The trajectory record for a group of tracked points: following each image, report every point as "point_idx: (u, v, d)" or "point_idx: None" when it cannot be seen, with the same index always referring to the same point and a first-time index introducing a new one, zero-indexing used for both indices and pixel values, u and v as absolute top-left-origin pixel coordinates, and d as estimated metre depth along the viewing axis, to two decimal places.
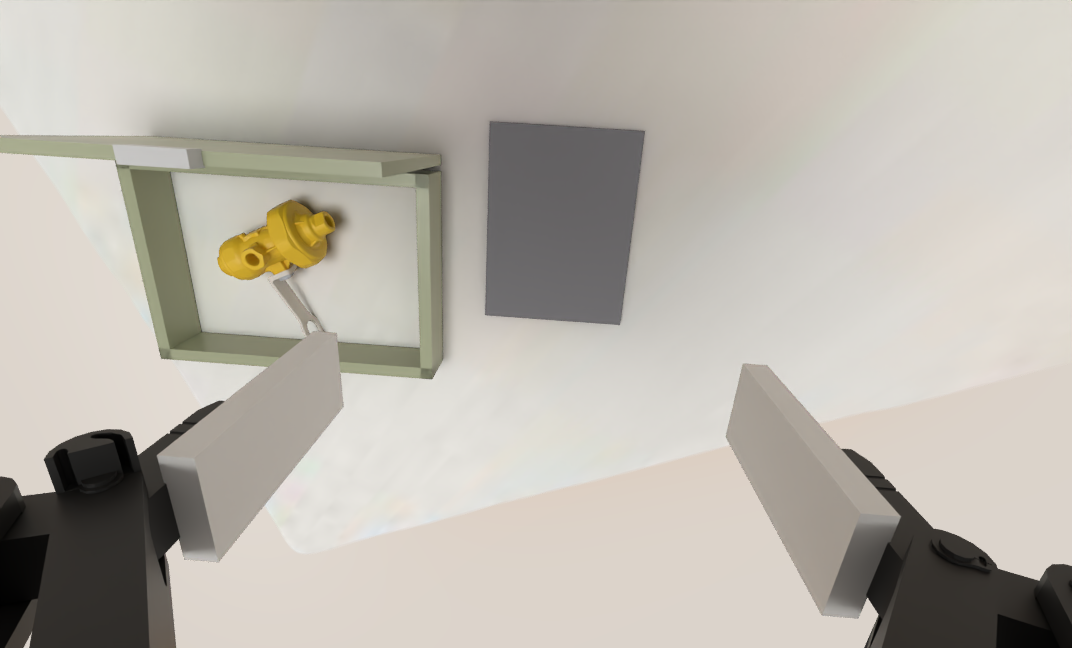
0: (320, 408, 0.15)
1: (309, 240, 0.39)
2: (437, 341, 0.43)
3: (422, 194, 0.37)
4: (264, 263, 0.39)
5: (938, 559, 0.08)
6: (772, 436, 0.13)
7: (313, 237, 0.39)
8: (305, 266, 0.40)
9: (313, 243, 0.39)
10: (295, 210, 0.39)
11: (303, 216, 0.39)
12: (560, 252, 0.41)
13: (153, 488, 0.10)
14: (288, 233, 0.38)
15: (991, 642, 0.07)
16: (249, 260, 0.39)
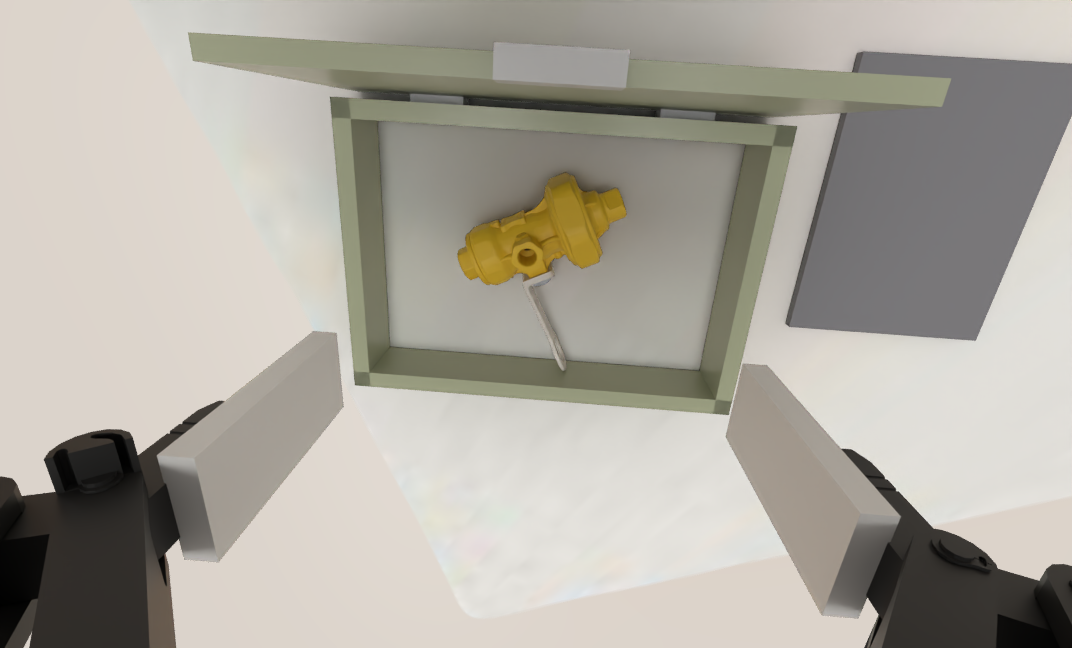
0: (320, 408, 0.15)
1: (598, 229, 0.28)
2: None
3: (780, 155, 0.25)
4: (541, 262, 0.27)
5: (938, 559, 0.08)
6: (772, 436, 0.13)
7: (604, 225, 0.28)
8: (586, 266, 0.28)
9: (601, 233, 0.28)
10: (578, 187, 0.28)
11: (592, 195, 0.27)
12: (918, 241, 0.30)
13: (153, 488, 0.10)
14: (586, 219, 0.26)
15: (991, 642, 0.07)
16: (519, 258, 0.27)
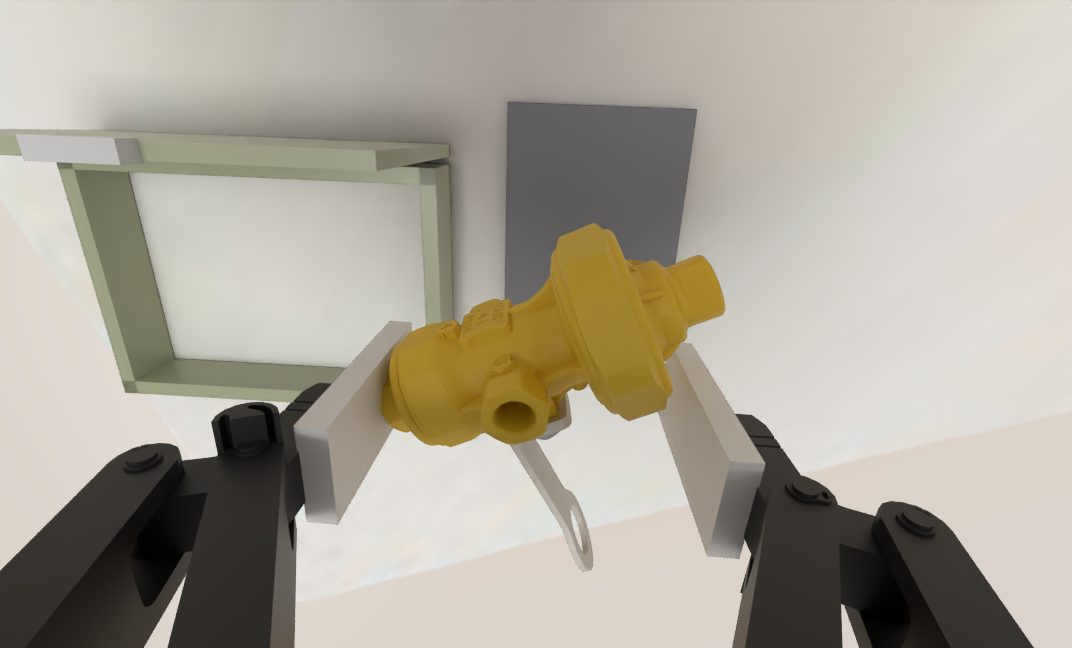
0: None
1: (666, 345, 0.13)
2: None
3: (428, 192, 0.30)
4: (546, 425, 0.12)
5: (792, 500, 0.10)
6: (684, 405, 0.14)
7: (679, 336, 0.13)
8: (639, 417, 0.14)
9: (671, 352, 0.13)
10: None
11: (653, 274, 0.13)
12: None
13: (289, 455, 0.11)
14: (647, 339, 0.11)
15: (836, 564, 0.08)
16: (498, 415, 0.12)
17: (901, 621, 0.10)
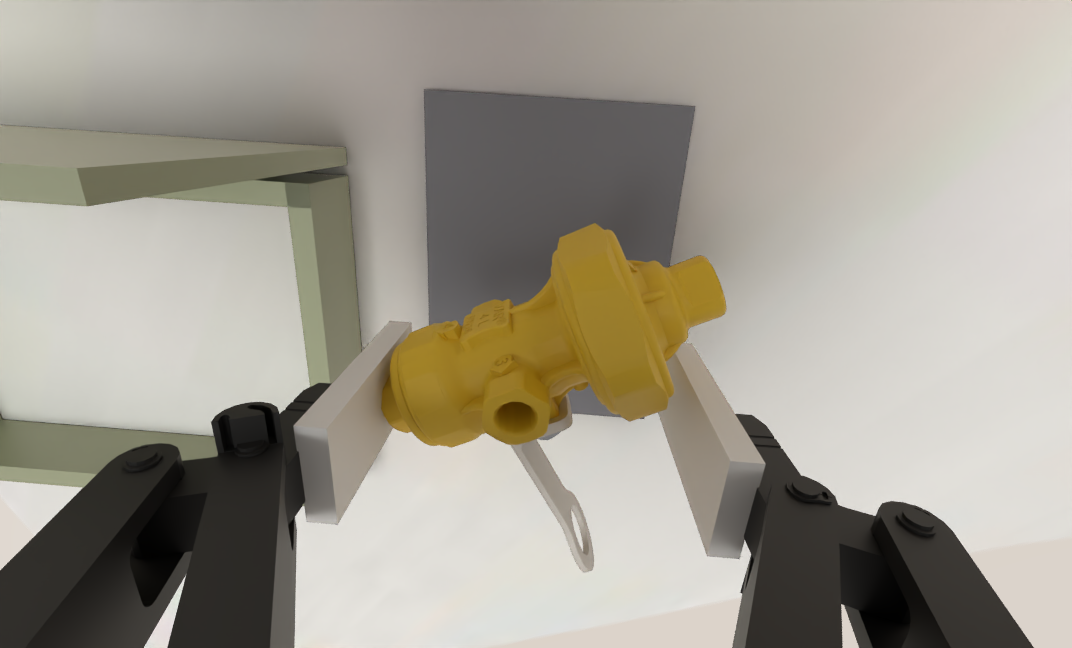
0: None
1: (667, 345, 0.13)
2: None
3: (301, 218, 0.21)
4: (547, 425, 0.12)
5: (792, 500, 0.10)
6: (684, 405, 0.14)
7: (680, 337, 0.13)
8: (640, 417, 0.14)
9: (672, 352, 0.13)
10: None
11: (654, 275, 0.13)
12: None
13: (289, 455, 0.11)
14: (648, 339, 0.11)
15: (836, 564, 0.08)
16: (499, 416, 0.12)
17: (901, 621, 0.10)
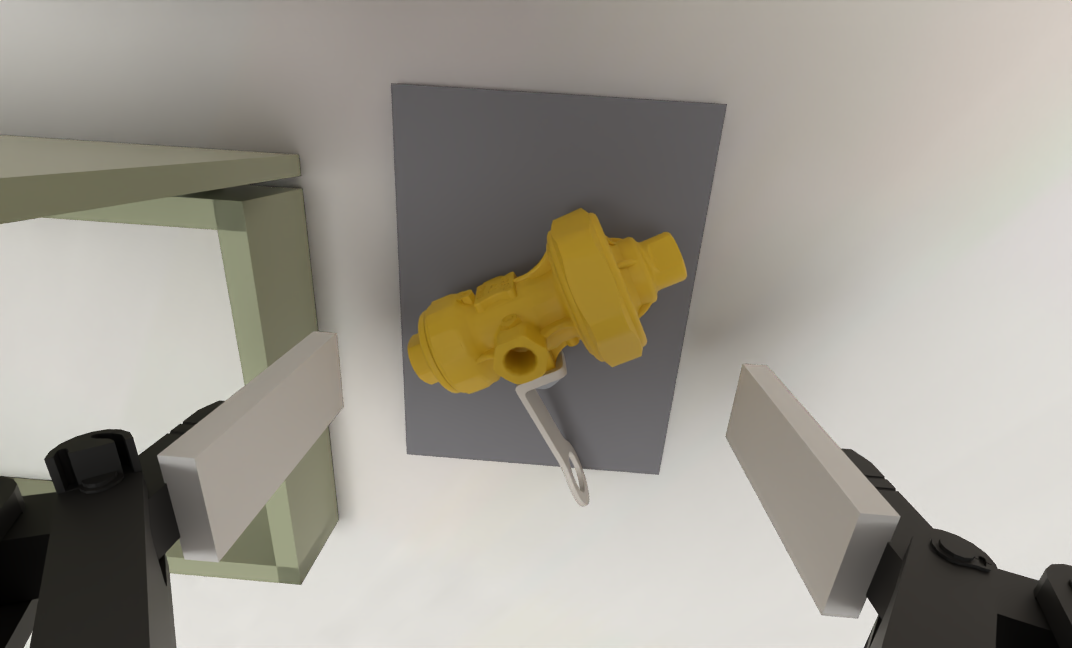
0: (320, 408, 0.15)
1: (640, 304, 0.16)
2: (316, 505, 0.23)
3: (234, 244, 0.17)
4: (545, 367, 0.16)
5: (938, 559, 0.08)
6: (772, 437, 0.13)
7: (650, 296, 0.16)
8: (620, 363, 0.17)
9: (645, 310, 0.17)
10: None
11: (628, 247, 0.16)
12: None
13: (153, 488, 0.10)
14: (622, 294, 0.15)
15: (991, 642, 0.07)
16: (507, 361, 0.16)
17: None
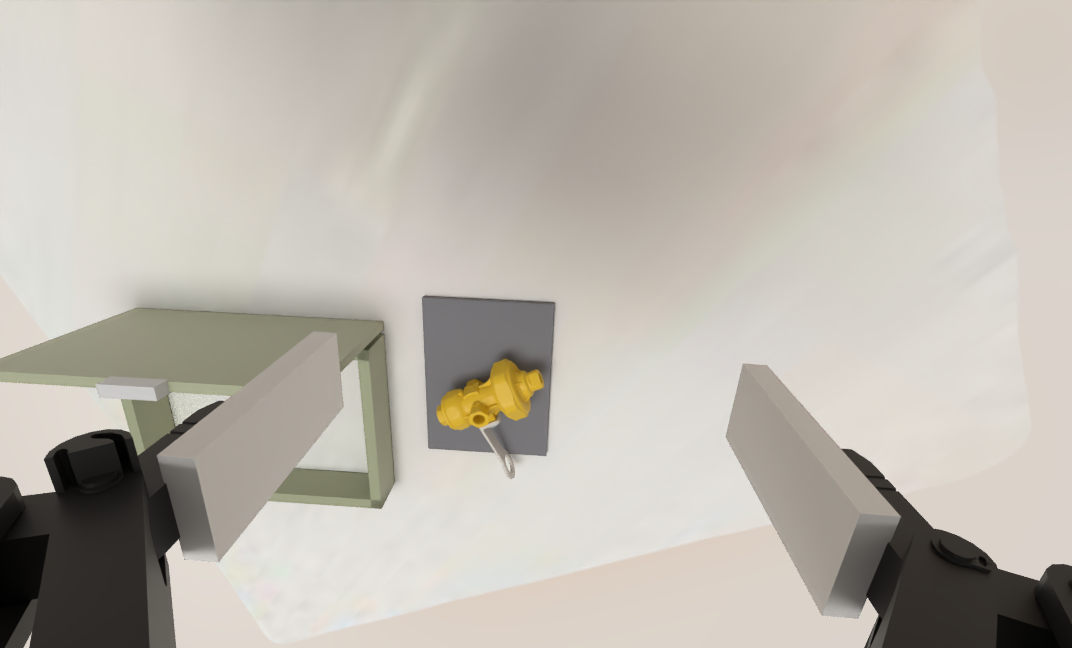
0: (320, 408, 0.15)
1: (525, 397, 0.43)
2: (386, 473, 0.50)
3: (363, 365, 0.43)
4: (488, 421, 0.43)
5: (938, 559, 0.08)
6: (772, 436, 0.13)
7: (529, 395, 0.43)
8: None
9: (527, 399, 0.43)
10: (512, 370, 0.43)
11: (520, 376, 0.43)
12: None
13: (153, 488, 0.10)
14: (514, 397, 0.42)
15: (991, 642, 0.07)
16: (474, 419, 0.43)
17: None
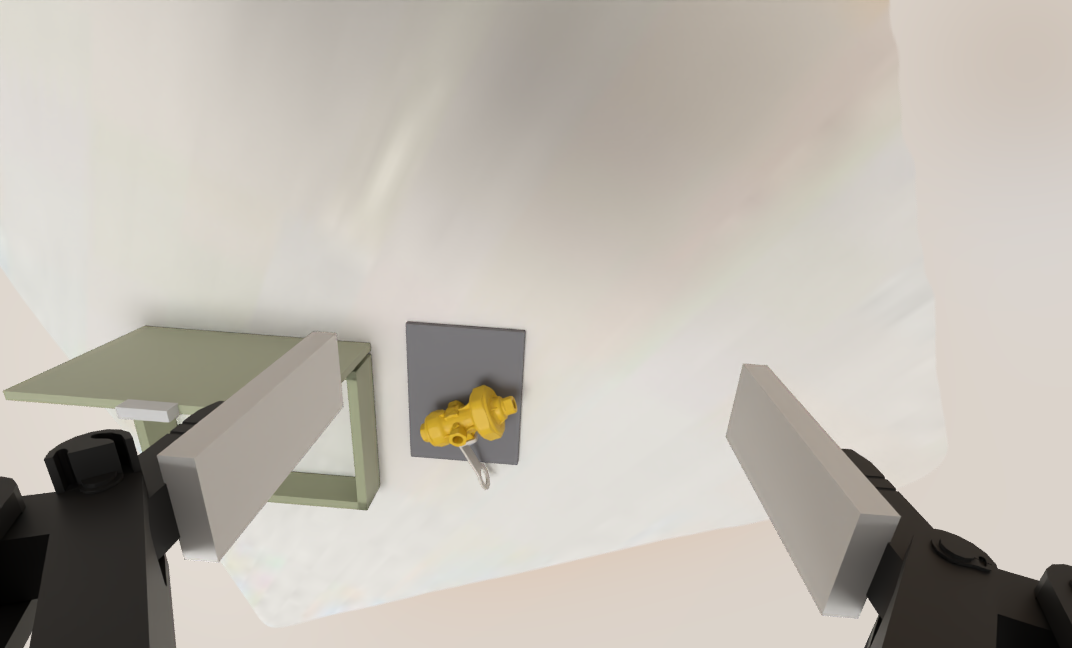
0: (320, 408, 0.15)
1: (499, 421, 0.49)
2: (372, 478, 0.55)
3: (352, 384, 0.48)
4: (466, 441, 0.48)
5: (938, 559, 0.08)
6: (772, 436, 0.13)
7: (503, 418, 0.48)
8: (493, 439, 0.49)
9: (502, 422, 0.49)
10: (488, 396, 0.48)
11: (496, 402, 0.48)
12: None
13: (153, 488, 0.10)
14: (489, 421, 0.47)
15: (991, 642, 0.07)
16: (453, 439, 0.48)
17: None
